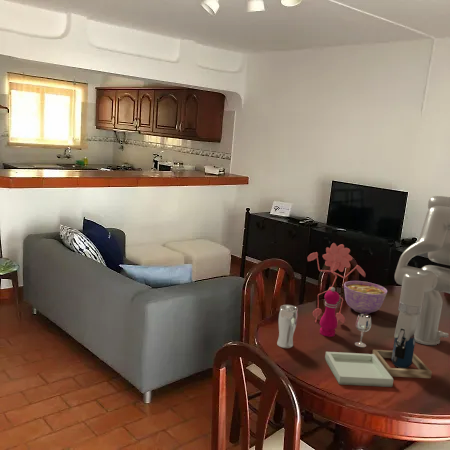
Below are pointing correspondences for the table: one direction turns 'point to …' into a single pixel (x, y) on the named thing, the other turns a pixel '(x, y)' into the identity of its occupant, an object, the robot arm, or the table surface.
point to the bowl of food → (364, 296)
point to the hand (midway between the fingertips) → (402, 353)
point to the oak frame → (398, 372)
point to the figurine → (336, 260)
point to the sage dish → (358, 369)
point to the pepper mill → (329, 314)
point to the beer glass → (287, 325)
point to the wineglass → (363, 326)
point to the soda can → (408, 353)
